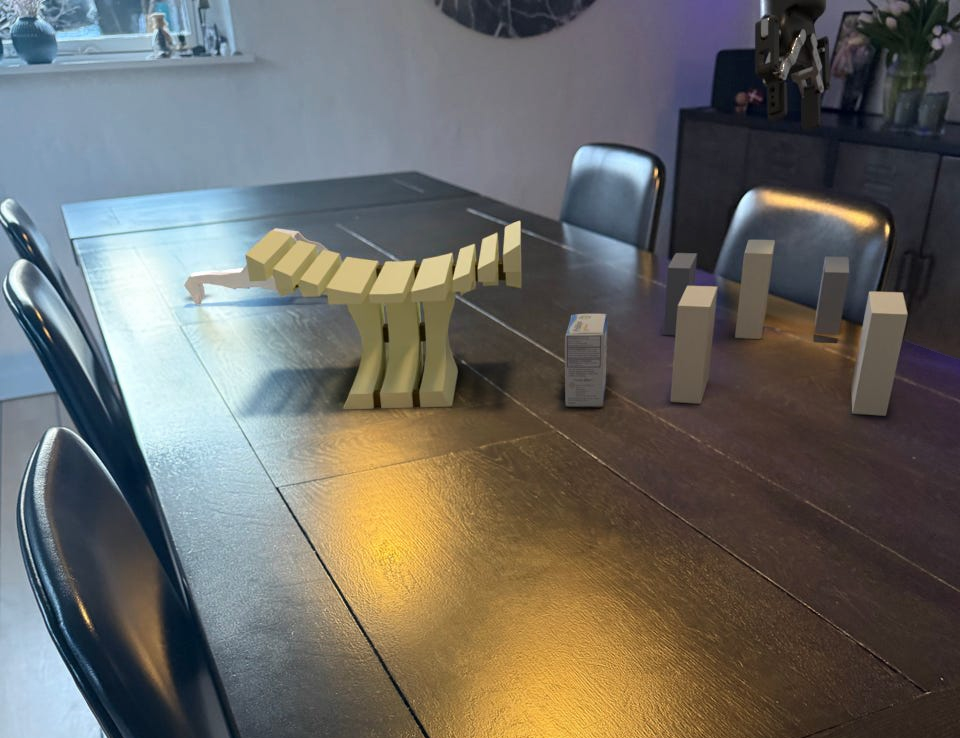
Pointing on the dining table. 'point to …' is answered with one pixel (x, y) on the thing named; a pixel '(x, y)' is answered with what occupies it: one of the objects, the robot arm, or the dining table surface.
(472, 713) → the dining table surface
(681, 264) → the grey blocks
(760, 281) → the beige rectangular block
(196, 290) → the horse figurine
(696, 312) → the cream blocks
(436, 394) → the slatted curved stool
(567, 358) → the medicine box
